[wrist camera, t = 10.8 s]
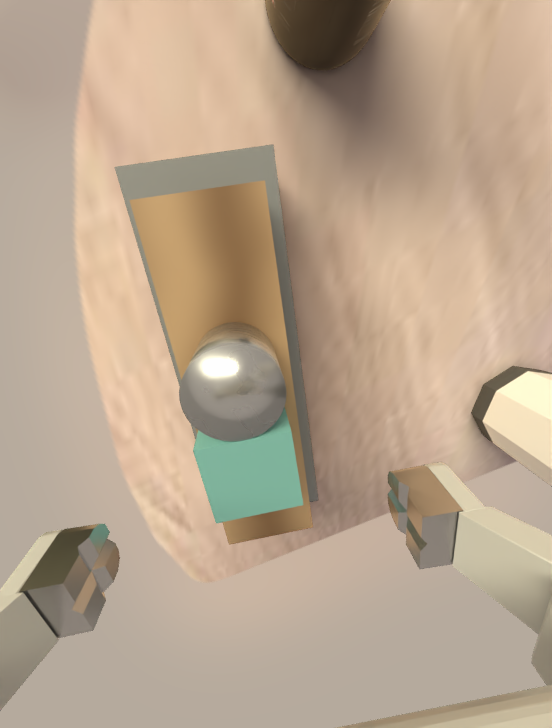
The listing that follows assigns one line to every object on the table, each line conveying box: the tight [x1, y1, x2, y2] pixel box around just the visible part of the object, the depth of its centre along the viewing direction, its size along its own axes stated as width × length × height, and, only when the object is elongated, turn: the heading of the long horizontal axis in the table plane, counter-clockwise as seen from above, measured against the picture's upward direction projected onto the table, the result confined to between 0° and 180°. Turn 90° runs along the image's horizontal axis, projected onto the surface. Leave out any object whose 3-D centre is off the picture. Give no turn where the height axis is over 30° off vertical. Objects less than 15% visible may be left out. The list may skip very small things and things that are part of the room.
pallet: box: [129, 180, 313, 545], centre depth 17 cm, size 6×20×4 cm, turn 9°
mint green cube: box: [193, 406, 303, 523], centre depth 14 cm, size 4×4×4 cm
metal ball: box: [179, 322, 287, 441], centre depth 13 cm, size 4×4×4 cm
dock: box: [115, 145, 318, 502], centre depth 21 cm, size 8×24×5 cm, turn 9°
